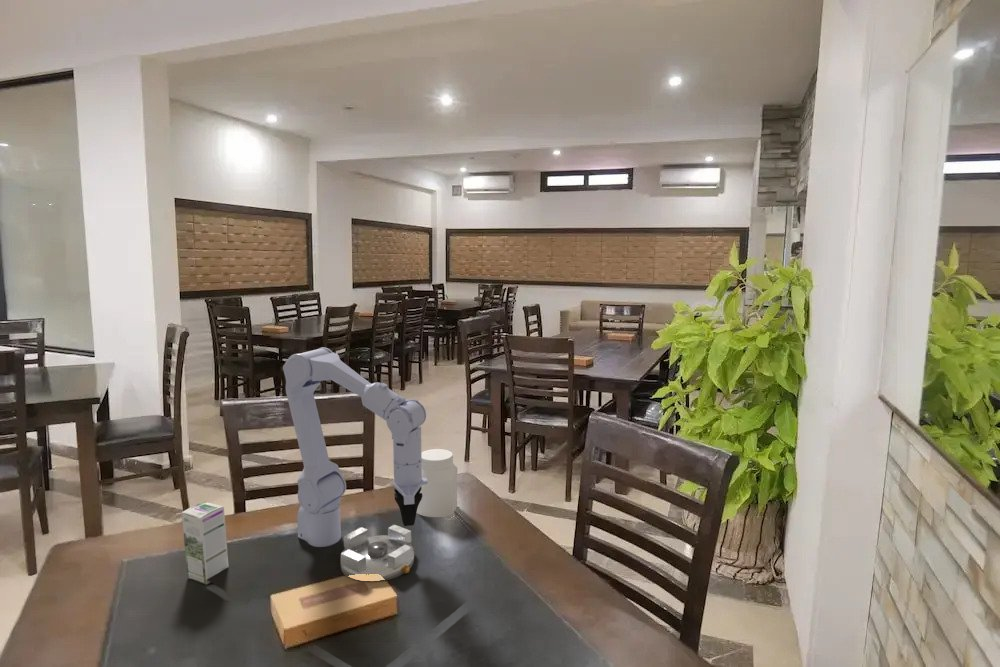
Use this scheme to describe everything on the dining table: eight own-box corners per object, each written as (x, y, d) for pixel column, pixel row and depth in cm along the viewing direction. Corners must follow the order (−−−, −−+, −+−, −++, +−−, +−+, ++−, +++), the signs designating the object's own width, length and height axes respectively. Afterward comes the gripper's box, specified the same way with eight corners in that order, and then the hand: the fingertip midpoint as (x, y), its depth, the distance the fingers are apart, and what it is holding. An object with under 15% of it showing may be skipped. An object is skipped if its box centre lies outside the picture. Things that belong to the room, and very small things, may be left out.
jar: (451, 522, 144) (451, 463, 141) (412, 520, 144) (411, 462, 142) (459, 502, 155) (458, 447, 153) (423, 500, 156) (422, 446, 154)
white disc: (325, 566, 122) (324, 546, 121) (378, 537, 134) (378, 518, 133) (380, 592, 113) (379, 570, 112) (432, 558, 125) (432, 538, 124)
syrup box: (230, 571, 122) (225, 505, 120) (205, 586, 117) (200, 517, 114) (210, 565, 124) (206, 499, 122) (185, 579, 119) (180, 511, 117)
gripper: (429, 472, 115) (430, 537, 117) (425, 447, 129) (425, 505, 131) (392, 474, 114) (394, 540, 116) (392, 449, 128) (393, 508, 130)
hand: (408, 522), depth 124 cm, fingers closed
